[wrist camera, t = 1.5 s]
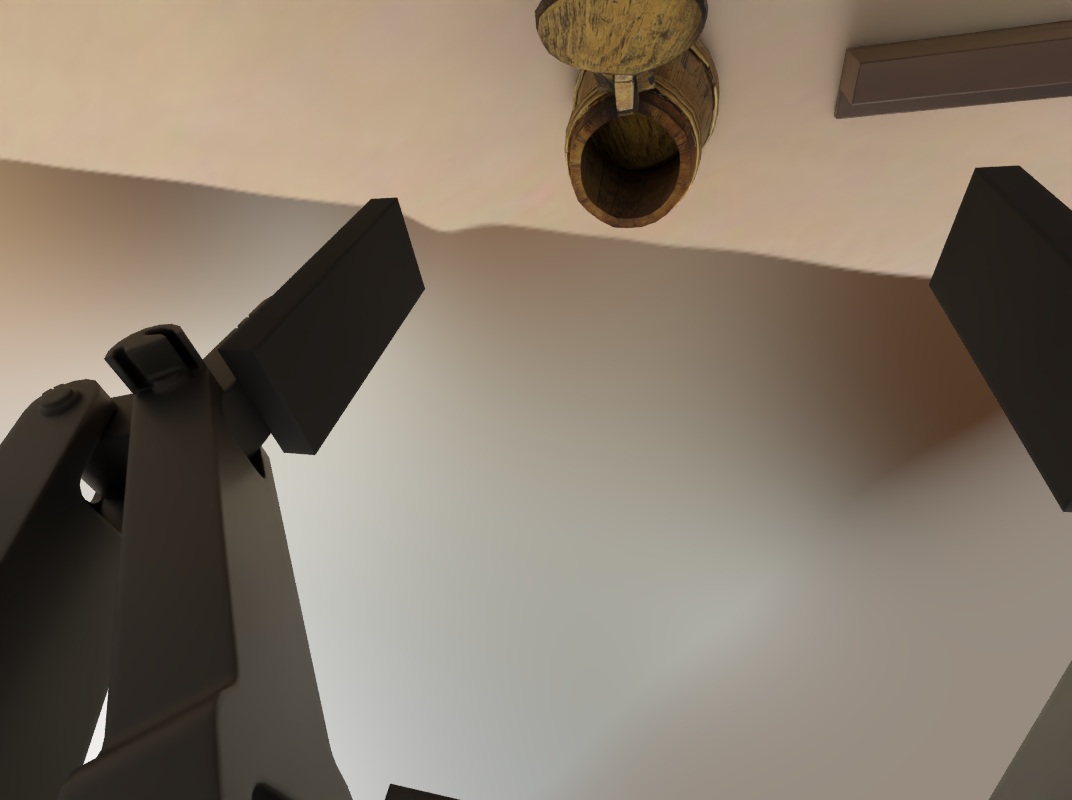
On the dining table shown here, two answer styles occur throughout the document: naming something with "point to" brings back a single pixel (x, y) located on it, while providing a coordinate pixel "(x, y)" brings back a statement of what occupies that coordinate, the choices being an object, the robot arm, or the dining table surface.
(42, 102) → the dining table surface
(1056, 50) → the rail
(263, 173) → the dining table surface
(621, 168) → the wooden mug
